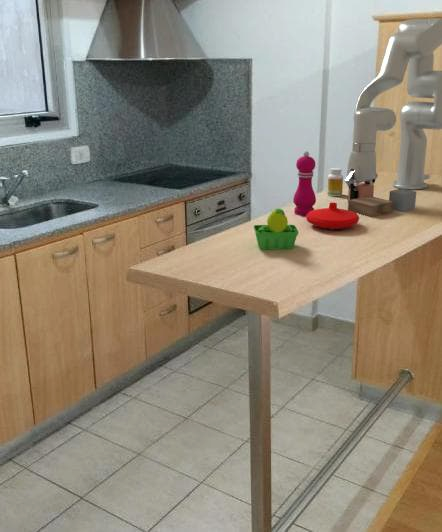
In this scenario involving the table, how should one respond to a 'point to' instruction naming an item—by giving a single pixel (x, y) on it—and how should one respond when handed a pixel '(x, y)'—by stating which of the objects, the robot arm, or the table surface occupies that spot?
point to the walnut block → (370, 206)
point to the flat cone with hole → (332, 217)
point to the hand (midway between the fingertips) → (360, 199)
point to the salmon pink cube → (363, 190)
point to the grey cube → (403, 199)
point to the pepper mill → (304, 186)
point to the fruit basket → (276, 232)
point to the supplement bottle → (335, 182)
